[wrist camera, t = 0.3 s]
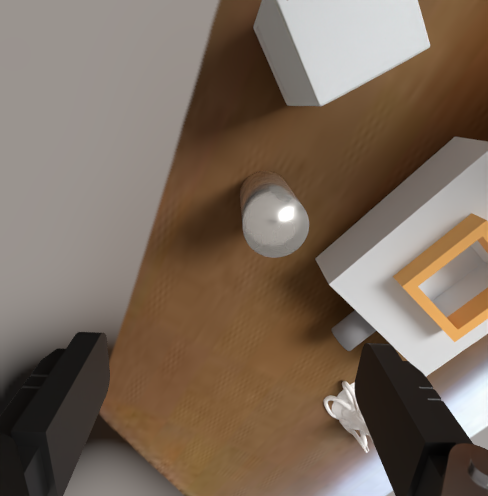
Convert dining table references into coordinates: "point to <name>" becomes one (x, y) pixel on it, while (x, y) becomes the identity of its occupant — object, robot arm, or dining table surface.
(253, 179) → the shiny metal cylinder
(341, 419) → the tentacle sculpture
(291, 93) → the supplement box
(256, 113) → the dining table surface
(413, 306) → the white square box
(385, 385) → the robot arm
